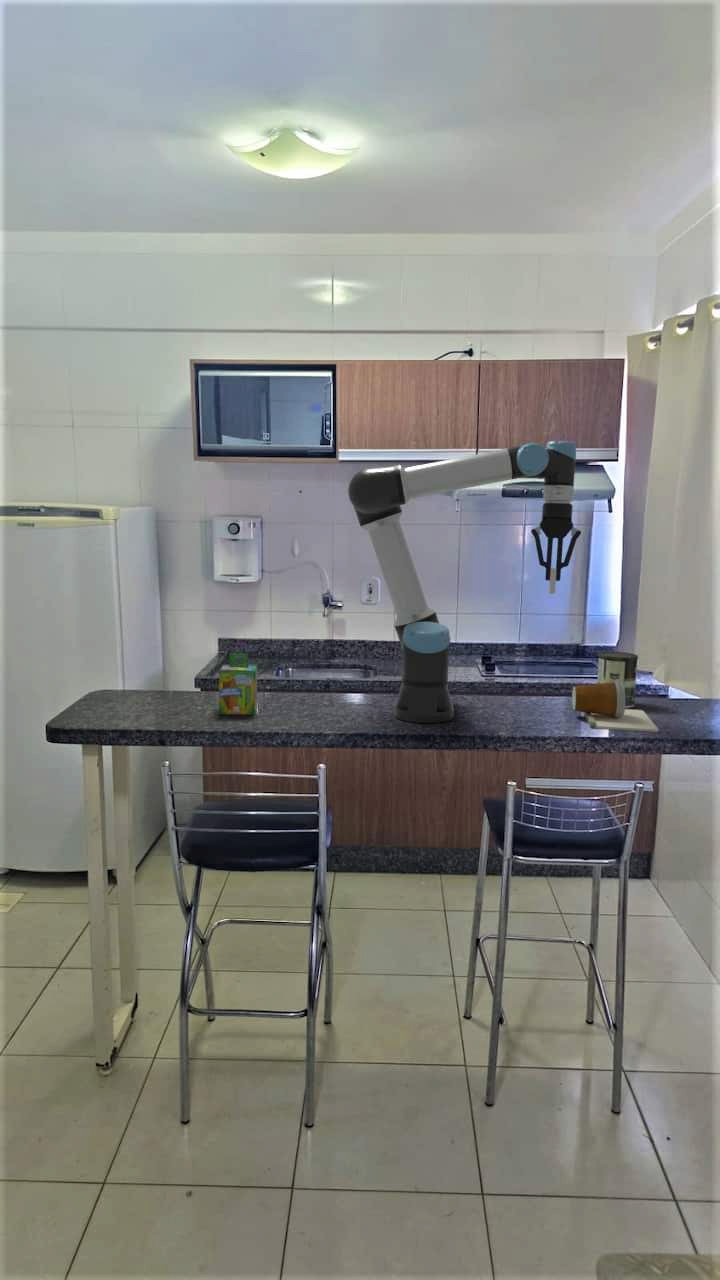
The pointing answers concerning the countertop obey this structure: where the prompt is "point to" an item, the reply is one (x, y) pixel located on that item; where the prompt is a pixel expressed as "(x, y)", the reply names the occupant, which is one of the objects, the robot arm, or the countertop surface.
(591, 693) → the disposable coffee cup
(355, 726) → the countertop surface
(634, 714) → the cream flat rectangular board
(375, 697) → the countertop surface
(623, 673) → the coffee can
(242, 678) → the chalk box
